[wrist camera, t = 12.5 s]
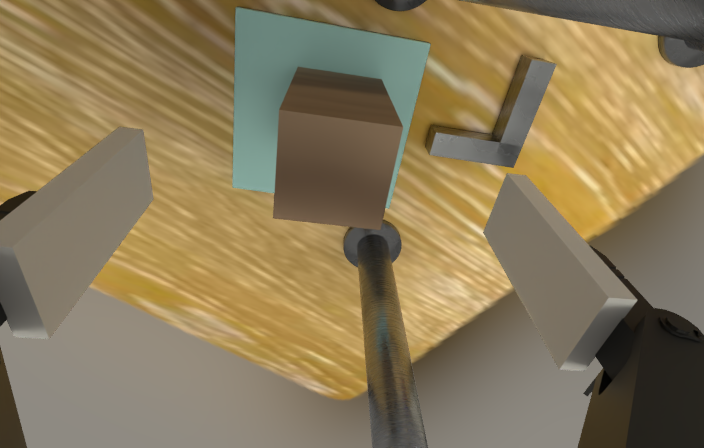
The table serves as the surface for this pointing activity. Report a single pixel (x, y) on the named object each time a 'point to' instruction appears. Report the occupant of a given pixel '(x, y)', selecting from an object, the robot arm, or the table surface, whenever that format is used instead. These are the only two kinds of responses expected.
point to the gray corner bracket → (499, 121)
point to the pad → (316, 53)
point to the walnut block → (335, 149)
